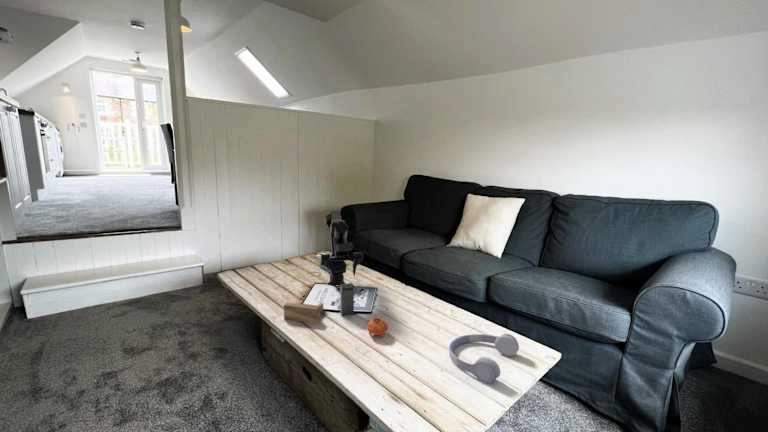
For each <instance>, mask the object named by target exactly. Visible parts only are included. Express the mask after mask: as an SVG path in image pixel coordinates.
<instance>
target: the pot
mask: <svg viewBox="0 0 768 432" xmlns="http://www.w3.org/2000/svg"><path fill="white" fill-rule="evenodd" d="M366 329H367V331H368V333H369V334H368V335H370V336H372V334H373V335H375V336H376V335H377V336H378V335H380V337H381V338H382V339H383V338H384V337H385V333H386V332H387V331H388V329H389V324H388V323H387V321H386V320H385V319H383V318H382V317H374V318H373V319H371V320H370V321H369V322H368V323H367V325H366Z"/></svg>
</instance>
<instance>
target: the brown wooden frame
mask: <svg viewBox="0 0 768 432" xmlns="http://www.w3.org/2000/svg"><path fill="white" fill-rule="evenodd" d="M323 312H324V302H320V303H319V304H318V305H316V304H309V303H304V300H303V299H302V300H301V299H300V300H298V302H291V301H290V302H289V301H287V302H286V303H285V304H284V305H283V317H284V318H283V319H284V320H289V321H296V322H302V323H303V322H304V323H311V324H318V323H319V321H320V320H321V317H320V316H321V314H322V313H323Z"/></svg>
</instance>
